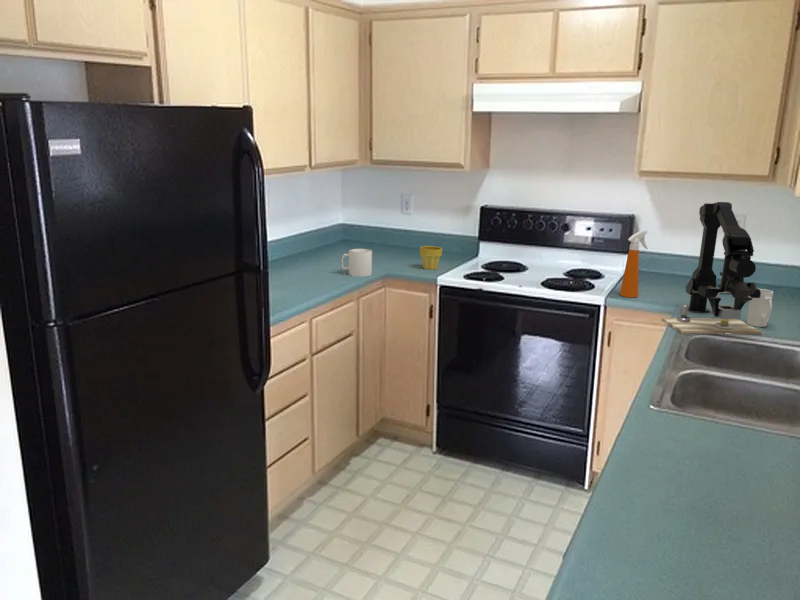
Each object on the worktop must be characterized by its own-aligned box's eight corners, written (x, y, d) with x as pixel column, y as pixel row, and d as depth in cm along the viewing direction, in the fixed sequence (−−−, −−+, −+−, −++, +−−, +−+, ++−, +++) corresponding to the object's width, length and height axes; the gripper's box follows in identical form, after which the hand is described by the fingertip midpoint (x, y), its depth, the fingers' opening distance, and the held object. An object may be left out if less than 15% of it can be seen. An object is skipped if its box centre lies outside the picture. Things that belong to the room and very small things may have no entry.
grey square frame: (711, 313, 222) (712, 305, 221) (729, 313, 222) (730, 305, 222) (721, 318, 216) (722, 310, 215) (740, 319, 216) (741, 310, 215)
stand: (674, 318, 229) (676, 303, 228) (686, 318, 229) (688, 303, 228) (680, 322, 225) (682, 306, 224) (692, 322, 225) (694, 306, 224)
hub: (712, 325, 222) (714, 312, 221) (727, 325, 223) (729, 312, 222) (720, 329, 217) (722, 316, 216) (735, 329, 218) (737, 316, 217)
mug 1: (341, 276, 288) (341, 252, 285) (341, 271, 298) (341, 248, 295) (372, 276, 289) (372, 252, 286) (371, 271, 299) (371, 248, 296)
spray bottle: (648, 296, 265) (656, 231, 259) (628, 298, 261) (636, 232, 254) (635, 292, 271) (642, 228, 265) (615, 294, 267) (622, 230, 260)
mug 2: (741, 321, 232) (747, 288, 229) (760, 321, 232) (766, 288, 229) (757, 329, 222) (763, 295, 219) (777, 330, 222) (783, 295, 219)
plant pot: (445, 267, 311) (446, 247, 309) (434, 271, 303) (435, 250, 300) (426, 265, 316) (427, 245, 314) (415, 268, 308) (415, 247, 306)
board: (661, 320, 230) (662, 318, 230) (736, 321, 231) (736, 318, 231) (681, 333, 215) (681, 330, 215) (761, 334, 217) (761, 331, 217)
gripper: (717, 276, 207) (710, 323, 211) (774, 276, 208) (766, 323, 212) (699, 268, 218) (693, 314, 222) (754, 269, 219) (747, 314, 223)
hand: (725, 316), depth 219 cm, fingers closed on grey square frame, 6 cm apart
